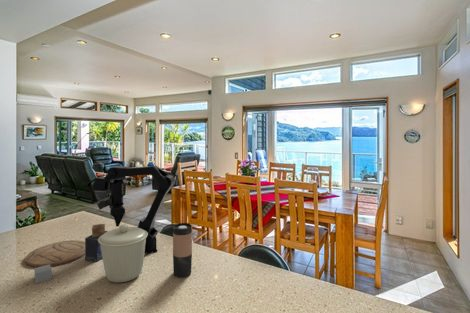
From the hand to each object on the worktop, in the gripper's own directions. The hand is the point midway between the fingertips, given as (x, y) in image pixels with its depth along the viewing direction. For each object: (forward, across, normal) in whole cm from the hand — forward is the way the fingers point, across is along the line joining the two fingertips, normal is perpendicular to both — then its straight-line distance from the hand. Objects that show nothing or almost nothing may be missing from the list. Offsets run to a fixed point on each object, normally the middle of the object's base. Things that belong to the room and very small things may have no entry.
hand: (116, 223), depth 126 cm
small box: (+14, +4, -8) cm, 16 cm away
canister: (+13, +27, +1) cm, 30 cm away
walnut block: (+3, +4, -8) cm, 9 cm away
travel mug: (+13, +36, +23) cm, 44 cm away
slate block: (+13, +16, -27) cm, 34 cm away
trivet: (+14, -6, -24) cm, 29 cm away
